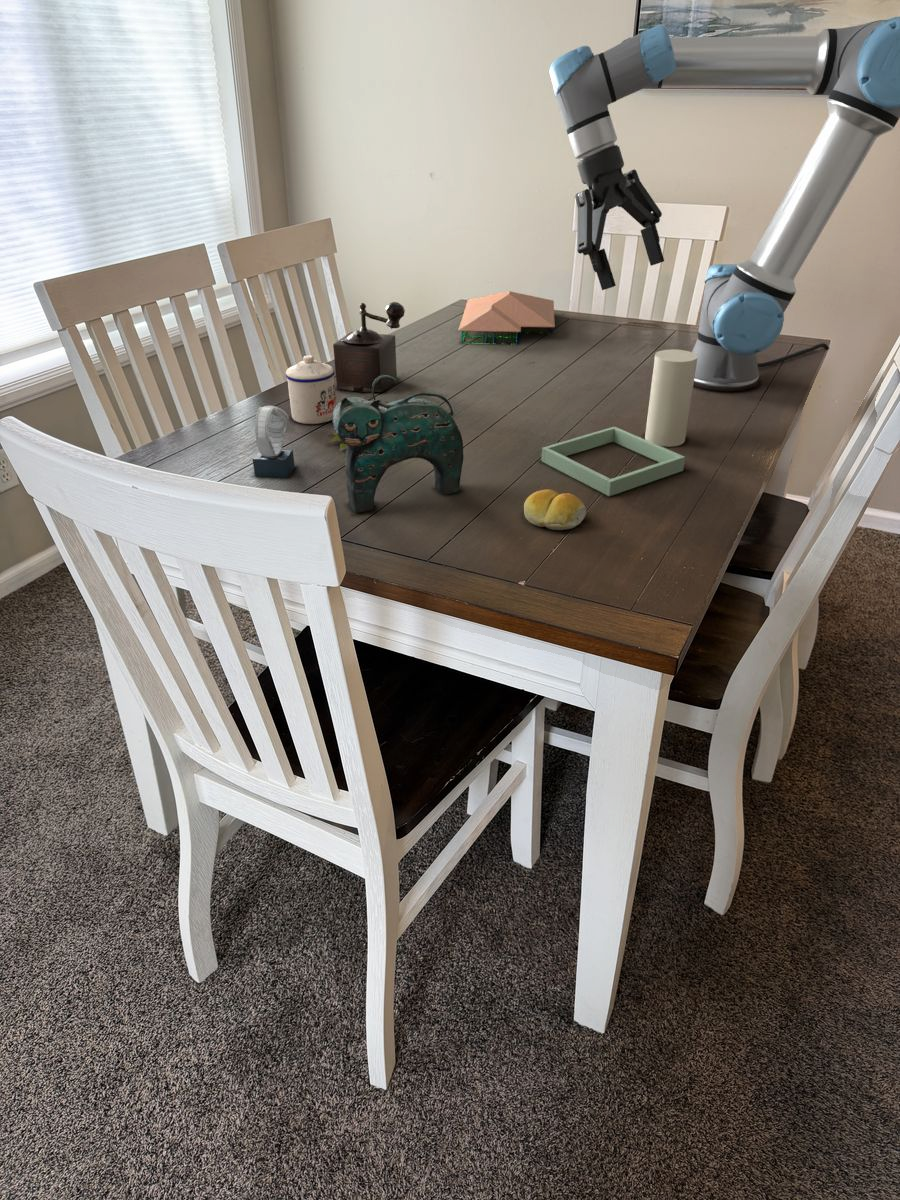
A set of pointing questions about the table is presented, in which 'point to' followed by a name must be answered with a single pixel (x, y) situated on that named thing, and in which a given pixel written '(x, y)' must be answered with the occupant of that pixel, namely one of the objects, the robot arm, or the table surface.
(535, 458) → the table surface
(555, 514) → the bread roll
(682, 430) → the pillar candle
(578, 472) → the green square frame
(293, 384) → the teacup with lid
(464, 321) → the house
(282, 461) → the watch
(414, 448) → the ceramic cat
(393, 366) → the manual coffee grinder
